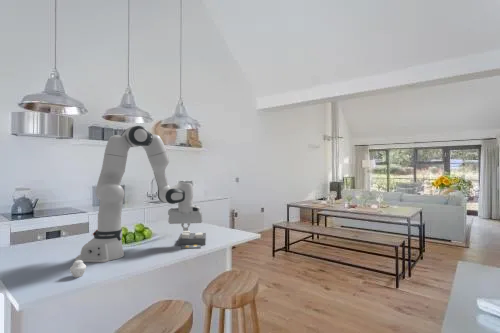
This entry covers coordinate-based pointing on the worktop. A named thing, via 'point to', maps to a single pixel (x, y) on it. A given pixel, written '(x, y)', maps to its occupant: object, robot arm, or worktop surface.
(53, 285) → the worktop surface
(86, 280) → the worktop surface
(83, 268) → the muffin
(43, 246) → the worktop surface
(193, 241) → the button board
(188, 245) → the pattern card
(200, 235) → the button front right
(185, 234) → the button front left
